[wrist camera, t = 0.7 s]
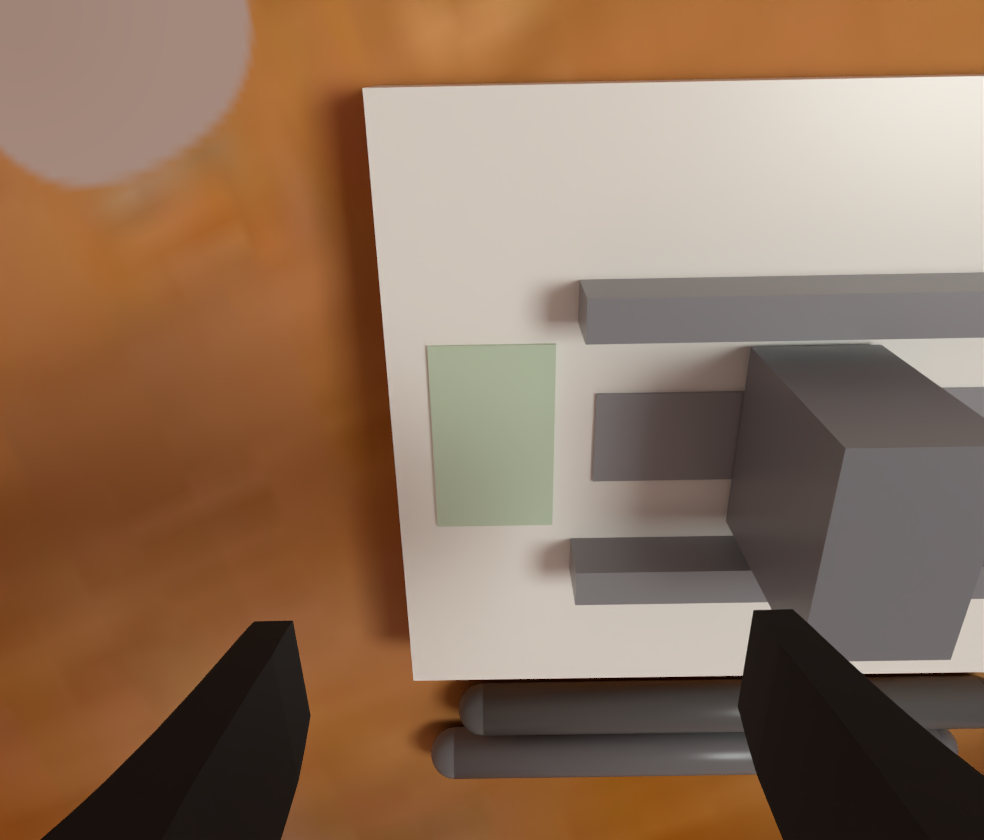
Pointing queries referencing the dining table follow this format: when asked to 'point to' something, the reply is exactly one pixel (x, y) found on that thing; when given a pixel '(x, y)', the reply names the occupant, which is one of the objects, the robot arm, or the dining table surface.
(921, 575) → the switch knob
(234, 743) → the robot arm
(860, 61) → the dining table surface
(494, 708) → the white board with rails
